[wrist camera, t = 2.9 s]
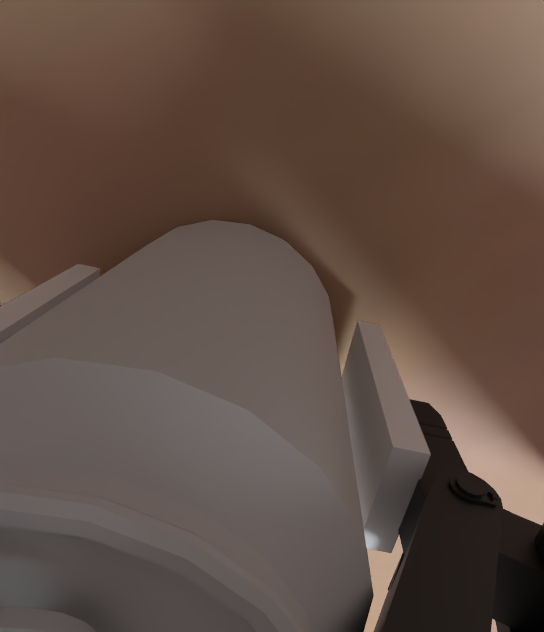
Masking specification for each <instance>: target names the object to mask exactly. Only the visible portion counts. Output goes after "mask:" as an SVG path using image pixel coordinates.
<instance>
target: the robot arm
mask: <svg viewBox="0 0 544 632" xmlns="http://www.w3.org/2000/svg"><path fill="white" fill-rule="evenodd" d="M99 277H100V268H96V267H91V266H86V265H81V264H77V265H75V266H73V267H71V268H69V269H68V270H66V271H64V272H62V273H60V274H58V275H57V276H55V277H53V278H51V279H49V280H48V281H46V282H44V283H42V284H40V285H39V286H37V287H35V288H33V289H31V290H29V291H28V292H26V293H24V294H22V295H20V296H19V297H17V298H15V299H13V300H11V301H9V302H8V303H6V304H4V305H2V306H0V343H2V342H3V341H5V340H6V339H8V338H9V337H11V336H12V335H14V334H15V333H17V332H18V331H20V330H21V329H23V328H24V327H26V326H27V325H29V324H30V323H32V322H33V321H35V320H36V319H38V318H39V317H41V316H42V315H44V314H45V313H47V312H48V311H49V310H51V309H52V308H54V307H55V306H57V305H58V304H60V303H61V302H63V301H64V300H66V299H67V298H69V297H70V296H72V295H73V294H75V293H76V292H78V291H79V290H81V289H82V288H84V287H85V286H87V285H88V284H90V283H91V282H93V281H94V280H96V279H97V278H99ZM342 384H343V391H344V398H345V405H346V411H347V418H348V425H349V432H350V439H351V446H352V452H353V459H354V466H355V473H356V480H357V487H358V493H359V500H360V507H361V514H362V521H363V527H364V534H365V541H366V548H368V549H373V550H378V551H383V552H388V553H392V550H393V548H394V545H395V543H396V540H397V538H398V535H400V539H401V544H402V548H403V554H402V556H401V558H400V561H399V563H398V566H397V568H396V570H395V573H394V575H393V578H392V580H391V582H390V585H389V587H388V590H389V591H388V593H387V596H386V599H385V602H384V605H383V607H382V610H381V613H380V616H379V619H378V621H377V624H376V627H375V630H374V632H491V624H492V619H494V620H495V621H496V626H497V631H498V632H544V523H543V525H539V524H537V523H534V522H532V521H530V520H527V519H525V518H523V517H520V516H518V515H516V514H513V513H511V512H509V511H507V510H505V509H503V506H502V502H501V498H500V497H499V495H498V494H497V493H496V491H495V490H494V489H493V488H492V487H491V486H490V485H489V484H488V483H486V482H485V481H484V480H482V479H481V478H479V477H477V476H476V475H474V474H472V473H470V472H468V470H467V468H466V466H465V464H464V462H463V460H462V458H461V456H460V454H459V452H458V450H457V447H456V445H455V443H454V441H452V437H451V435H450V433H449V431H448V430H447V427H446V425H445V423H444V421H443V419H442V417H441V415H440V414H439V413H438V412H437V411H436V410H435V409H434V408H433V407H432V406H431V405H430V404H429V403H425V402H420V401H415V400H410V399H409V397H408V395H407V392H406V390H405V387H404V385H403V382H402V380H401V377H400V375H399V372H398V370H397V367H396V364H395V362H394V359H393V357H392V354H391V352H390V349H389V347H388V344H387V342H386V339H385V337H384V334H383V331H382V329H381V326H380V325H377V324H372V323H367V322H362V321H357V325H356V328H355V332H354V335H353V339H352V342H351V346H350V349H349V353H348V356H347V360H346V363H345V367H344V370H343V374H342Z"/></svg>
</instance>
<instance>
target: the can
mask: <svg viewBox="0 0 544 632" xmlns="http://www.w3.org/2000/svg"><path fill="white" fill-rule="evenodd" d="M372 599H373V589H372V582H371V575H370V568H369V562H368V555H367V548H366V541H365V534H364V527H363V521H362V514H361V507H360V500H359V493H358V487H357V480H356V473H355V466H354V459H353V452H352V446H351V439H350V432H349V425H348V418H347V411H346V405H345V398H344V391H343V384H342V377H341V371H340V364H339V357H338V350H337V343H336V336H335V330H334V324H333V318H332V312H331V306H330V300H329V296H328V294H327V292H326V290H325V288H324V287H323V285H322V283H321V281H320V279H319V278H318V276H317V274H316V272H315V270H314V268H313V267H312V265H311V264H310V263H309V262H308V261H307V260H305V259H304V258H303V257H302V256H301V255H300V254H299V253H298V252H297V251H296V250H295V249H294V248H292V247H291V246H290V245H289V244H288V243H287V242H286V241H285V240H283V239H281V238H279V237H276V236H274V235H272V234H270V233H268V232H266V231H263V230H261V229H259V228H257V227H255V226H253V225H251V224H243V223H235V222H227V221H219V220H209V221H204V222H199V223H194V224H189V225H184V226H179V227H176V228H174V229H173V230H171V231H169V232H168V233H166V234H164V235H163V236H161V237H159V238H158V239H156V240H154V241H153V242H151V243H149V244H148V245H146V246H145V247H143V248H142V249H140V250H139V251H137V252H136V253H134V254H133V255H131V256H130V257H128V258H127V259H125V260H124V261H122V262H121V263H119V264H118V265H116V266H115V267H113V268H112V269H110V270H109V271H107V272H106V273H104V274H103V275H102V276H100V277H99V278H97V279H96V280H94V281H93V282H91V283H90V284H88V285H87V286H85V287H84V288H82V289H81V290H79V291H78V292H76V293H75V294H73V295H72V296H70V297H69V298H67V299H66V300H64V301H63V302H61V303H60V304H58V305H57V306H55V307H54V308H52V309H51V310H49V311H48V312H47V313H45V314H44V315H42V316H41V317H39V318H38V319H36V320H35V321H33V322H32V323H30V324H29V325H27V326H26V327H24V328H23V329H21V330H20V331H18V332H17V333H15V334H14V335H12V336H11V337H9V338H8V339H6V340H5V341H3V342H2V343H0V632H363V631H364V628H365V624H366V621H367V617H368V614H369V610H370V606H371V603H372Z"/></svg>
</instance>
